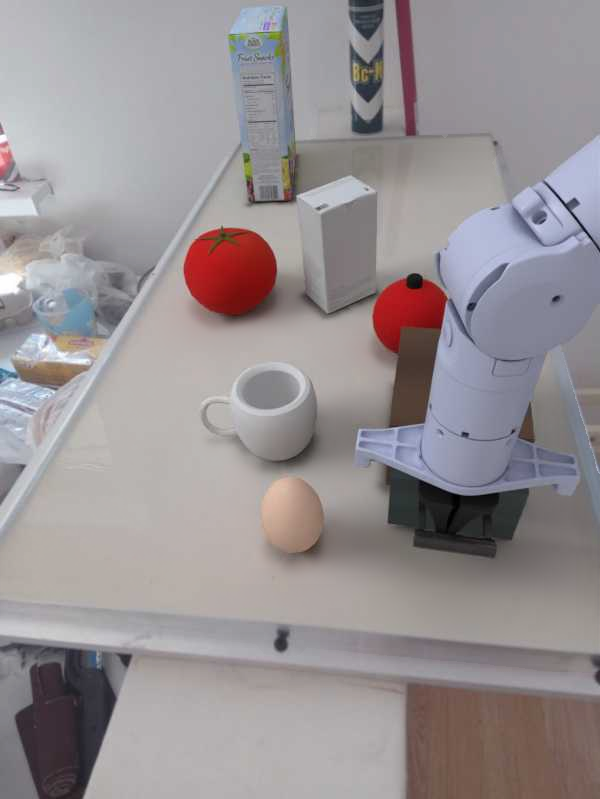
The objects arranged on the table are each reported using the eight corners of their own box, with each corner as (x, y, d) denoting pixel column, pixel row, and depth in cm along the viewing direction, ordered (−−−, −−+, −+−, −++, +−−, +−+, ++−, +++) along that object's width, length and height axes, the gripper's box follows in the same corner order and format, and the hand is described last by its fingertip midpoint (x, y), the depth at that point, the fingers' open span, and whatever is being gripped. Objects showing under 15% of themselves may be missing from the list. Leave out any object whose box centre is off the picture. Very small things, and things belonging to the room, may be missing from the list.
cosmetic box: (352, 276, 78) (351, 172, 67) (378, 295, 74) (381, 188, 64) (302, 296, 75) (293, 191, 65) (326, 317, 71) (320, 209, 61)
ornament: (457, 335, 67) (468, 263, 60) (432, 381, 61) (441, 308, 54) (388, 318, 70) (392, 248, 63) (359, 359, 65) (359, 288, 58)
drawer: (515, 589, 43) (534, 544, 38) (382, 568, 45) (385, 523, 40) (504, 431, 54) (518, 381, 49) (398, 420, 56) (402, 372, 52)
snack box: (296, 202, 96) (281, 29, 78) (247, 205, 97) (222, 35, 79) (299, 154, 111) (288, 1, 93) (257, 157, 112) (238, 6, 94)
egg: (337, 548, 47) (334, 492, 42) (284, 579, 46) (274, 525, 40) (306, 505, 51) (299, 449, 45) (256, 533, 49) (242, 477, 43)
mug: (321, 411, 59) (317, 356, 54) (317, 473, 53) (313, 418, 48) (213, 411, 61) (199, 357, 55) (198, 471, 55) (180, 418, 49)
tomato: (181, 298, 77) (163, 229, 70) (258, 270, 81) (248, 202, 73) (212, 339, 70) (194, 267, 63) (294, 307, 74) (287, 235, 66)
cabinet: (513, 501, 49) (535, 439, 43) (385, 485, 52) (389, 424, 46) (505, 397, 59) (522, 334, 53) (397, 387, 61) (401, 326, 55)
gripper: (591, 375, 35) (536, 498, 44) (366, 353, 38) (360, 473, 47) (611, 460, 30) (545, 577, 40) (351, 427, 33) (348, 545, 42)
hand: (444, 526), depth 43 cm, fingers closed, pressing on drawer
